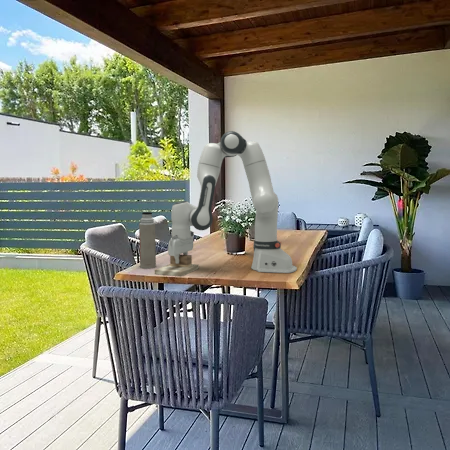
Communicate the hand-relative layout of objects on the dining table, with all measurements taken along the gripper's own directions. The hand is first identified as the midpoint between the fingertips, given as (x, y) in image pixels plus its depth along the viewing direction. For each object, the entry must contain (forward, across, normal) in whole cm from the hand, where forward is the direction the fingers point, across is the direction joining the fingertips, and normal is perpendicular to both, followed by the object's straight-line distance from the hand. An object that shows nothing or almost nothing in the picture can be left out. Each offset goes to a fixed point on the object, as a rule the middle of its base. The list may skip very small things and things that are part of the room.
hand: (181, 262), depth 223 cm
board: (+4, -4, 0) cm, 6 cm away
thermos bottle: (+4, 0, +19) cm, 20 cm away
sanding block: (+2, 0, 0) cm, 2 cm away
